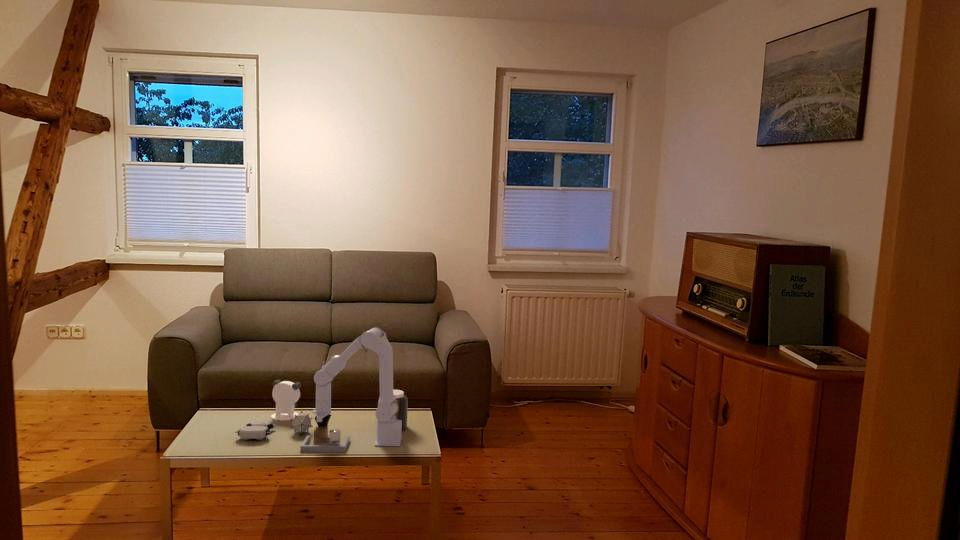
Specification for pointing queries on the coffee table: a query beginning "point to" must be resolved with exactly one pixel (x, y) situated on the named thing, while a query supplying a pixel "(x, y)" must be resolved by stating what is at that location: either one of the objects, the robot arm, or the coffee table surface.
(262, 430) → the robot toy
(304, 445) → the parts pen
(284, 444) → the coffee table surface
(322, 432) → the walnut block
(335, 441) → the silver cylinder
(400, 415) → the jar
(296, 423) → the game die
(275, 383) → the panda figurine
